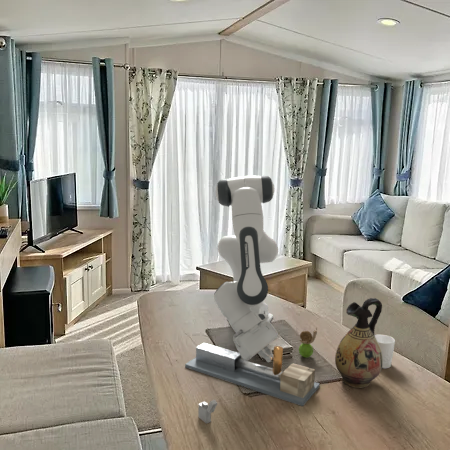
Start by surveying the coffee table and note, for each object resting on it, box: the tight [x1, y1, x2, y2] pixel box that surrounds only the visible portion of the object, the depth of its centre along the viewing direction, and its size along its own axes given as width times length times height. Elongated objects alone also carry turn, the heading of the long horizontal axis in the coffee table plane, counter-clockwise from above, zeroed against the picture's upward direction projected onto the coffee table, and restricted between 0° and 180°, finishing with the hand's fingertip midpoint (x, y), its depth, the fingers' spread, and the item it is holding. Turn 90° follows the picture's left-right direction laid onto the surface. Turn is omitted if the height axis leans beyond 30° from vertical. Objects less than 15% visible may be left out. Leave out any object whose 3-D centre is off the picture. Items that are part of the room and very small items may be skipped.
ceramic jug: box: [334, 297, 383, 389], centre depth 166 cm, size 17×15×30 cm
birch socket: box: [280, 362, 316, 398], centre depth 160 cm, size 9×8×6 cm
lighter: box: [197, 399, 218, 424], centre depth 143 cm, size 7×2×8 cm, turn 38°
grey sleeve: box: [195, 342, 243, 372], centre depth 176 cm, size 5×16×5 cm, turn 58°
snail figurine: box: [298, 327, 318, 359], centre depth 185 cm, size 5×6×12 cm
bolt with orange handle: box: [235, 345, 284, 381], centre depth 167 cm, size 3×24×11 cm, turn 58°
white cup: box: [374, 333, 396, 369], centre depth 180 cm, size 8×8×10 cm
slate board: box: [184, 356, 320, 407], centre depth 170 cm, size 14×45×1 cm, turn 58°
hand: (271, 360), depth 164 cm, fingers closed, pressing on bolt with orange handle
